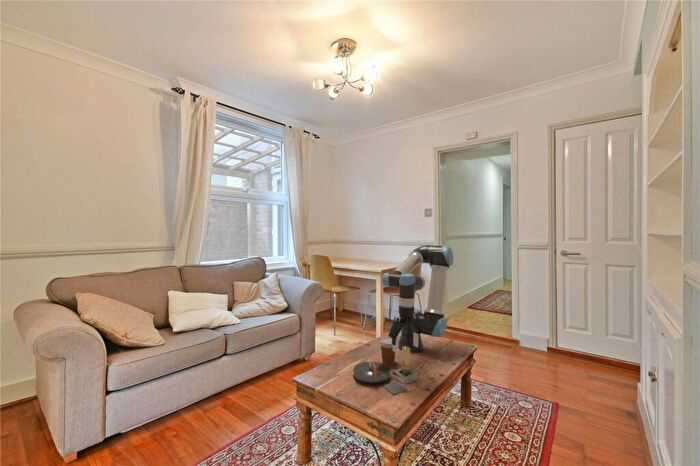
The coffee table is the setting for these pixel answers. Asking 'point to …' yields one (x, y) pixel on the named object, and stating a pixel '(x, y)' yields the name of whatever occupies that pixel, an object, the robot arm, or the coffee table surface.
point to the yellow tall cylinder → (405, 360)
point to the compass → (371, 372)
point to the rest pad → (395, 388)
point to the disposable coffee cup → (387, 351)
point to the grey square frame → (405, 379)
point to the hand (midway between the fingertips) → (405, 348)
